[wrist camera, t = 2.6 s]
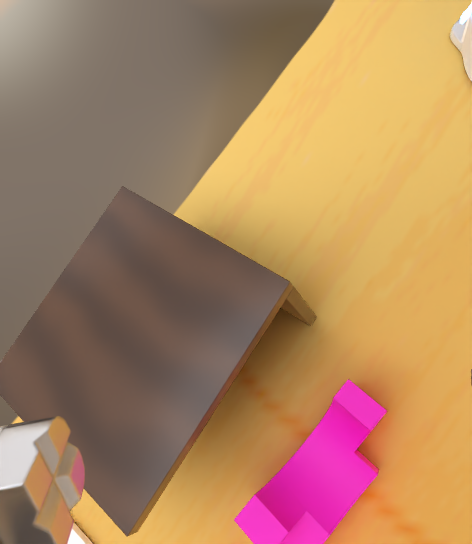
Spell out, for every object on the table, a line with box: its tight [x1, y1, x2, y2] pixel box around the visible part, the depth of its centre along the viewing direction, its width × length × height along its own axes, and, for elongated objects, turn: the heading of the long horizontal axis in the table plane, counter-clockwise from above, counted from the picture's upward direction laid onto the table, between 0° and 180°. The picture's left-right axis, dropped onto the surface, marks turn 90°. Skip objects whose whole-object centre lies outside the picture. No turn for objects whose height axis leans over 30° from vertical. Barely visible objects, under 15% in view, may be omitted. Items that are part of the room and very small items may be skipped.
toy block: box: [234, 379, 387, 544], centre depth 37 cm, size 15×6×8 cm, turn 138°
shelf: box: [0, 186, 316, 536], centre depth 43 cm, size 23×20×14 cm
